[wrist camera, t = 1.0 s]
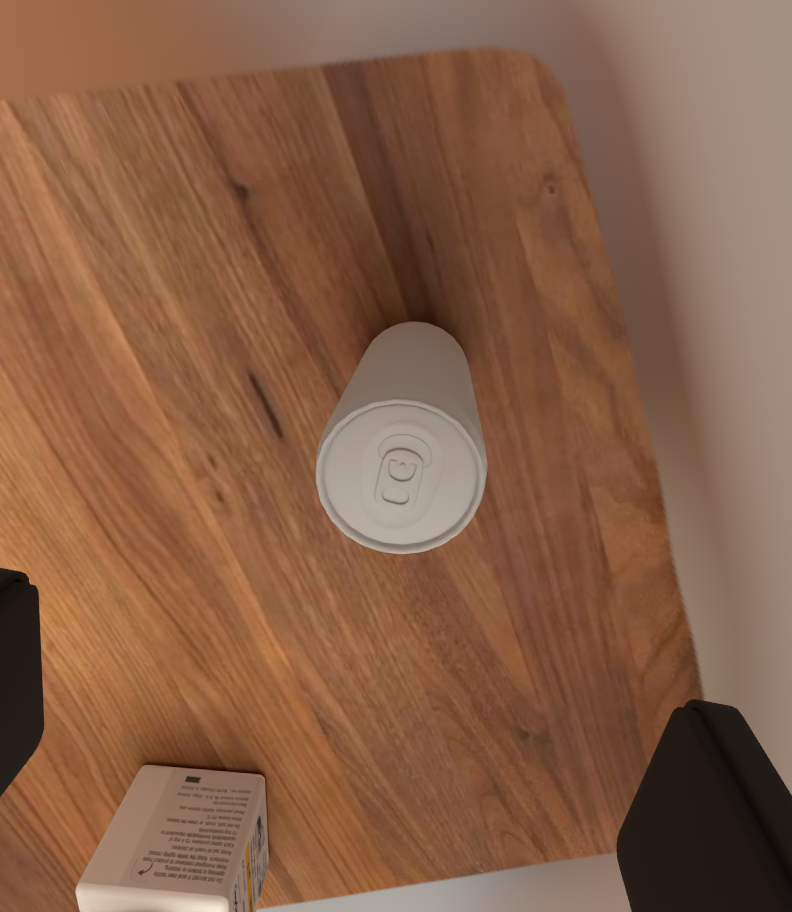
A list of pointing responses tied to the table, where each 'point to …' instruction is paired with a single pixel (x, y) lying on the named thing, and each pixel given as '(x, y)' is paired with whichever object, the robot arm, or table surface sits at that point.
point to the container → (181, 845)
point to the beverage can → (404, 444)
